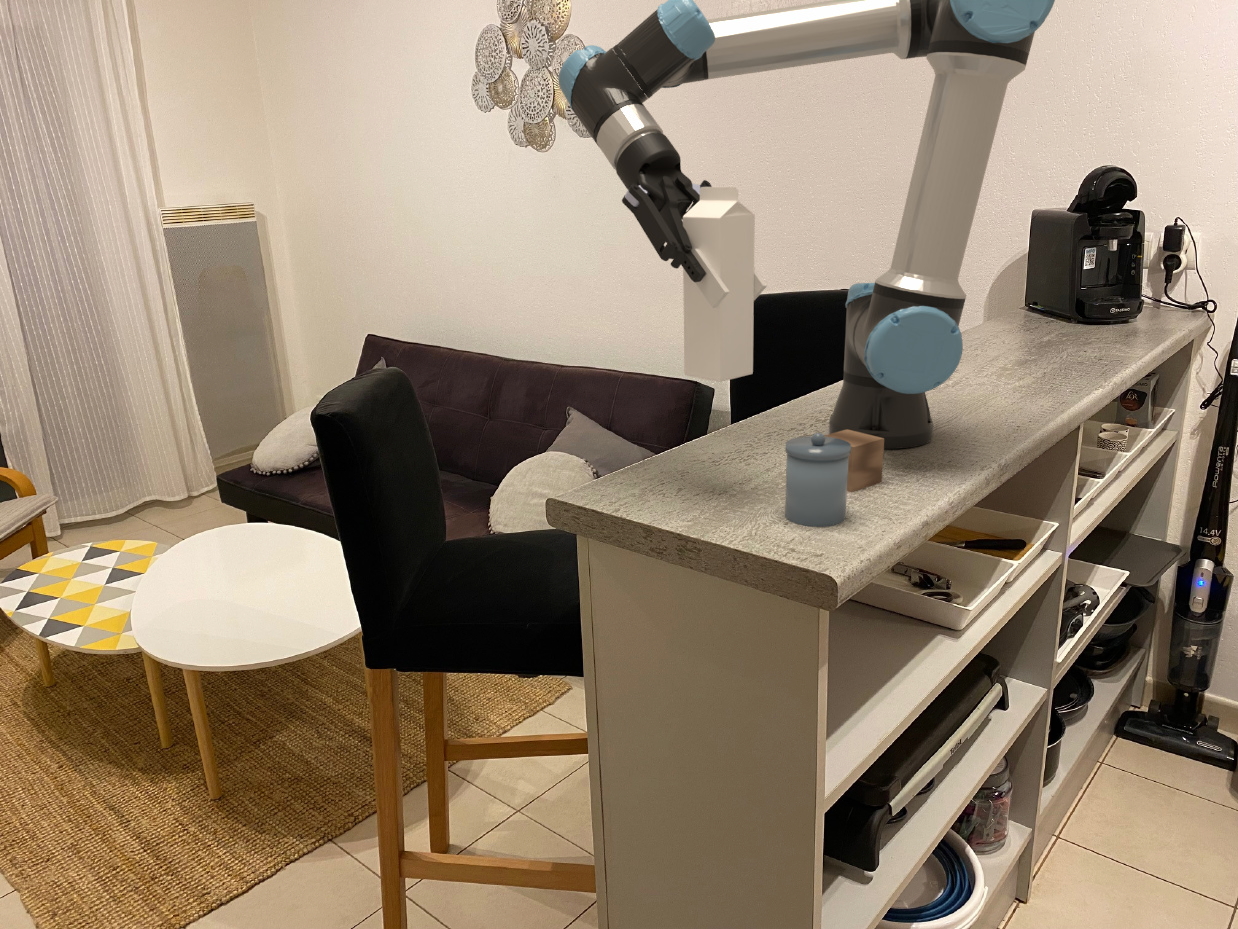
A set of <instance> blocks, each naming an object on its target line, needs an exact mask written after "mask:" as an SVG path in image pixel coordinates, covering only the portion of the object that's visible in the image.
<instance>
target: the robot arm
mask: <svg viewBox="0 0 1238 929" xmlns="http://www.w3.org/2000/svg"><path fill="white" fill-rule="evenodd" d="M1055 1H1056V0H827V1H826V0H825V1H819V2H813V3H806V4H799V5H793V6H787V7H779V8H773V9H767V10H760V11H755V12H749V13H747V12H746V13H741V14H734V15H728V16H721V17H716V18H711V19H707V18H706V16H705V15H704V13H703V12H702V11H701V9H700V7H699V6H698V4H696V2H695V1H694V0H667V1H666V2H664V3H661V4H660V5H658V7H657V9H656V10H654V11H653V12H652V13H651V14H650V15H649V16H648V17H647V18H645V19H644V20H643V21H642V22H640V24H639V25H637V26H636V27H635V28H634V29H633V30H632V31H631V32H630V33H628V34H627V35H626V36H625V37H624V38H622V39H621V40H620V41H619V42H618V43H616V44H615V45H614V46H613V47H611V48H609V49H608V50H607V51H606V50H605V49H603V48H602V46H598V45H595V44H594V45H590V44H589V45H586V46H585V47H584V48H582V49H577V50H575V51H573V52H572V53H571V54H570V55H569V56H567V58H566V59H565V61H564V62H563V63H562V66H561V68H560V70H559V74H558V86H559V88H560V91H561V92H562V94H563V96H564V97H565V99H566V101H567V102H568V105H569V106H570V107H569V108H570V109H571V110H572V111H573V113H574V114H575V116H576V117H577V119H578V120H579V122H580V123H581V124H582V126H583V127H584V128H585V130H586V132H587V133H588V134H589V136H590V137H591V138H592V140H593V142H595V144H596V145H597V146H598V148H599V149H600V150H601V152H602V153H603V155H604V156H605V158H606V159H607V162H609V164H610V165H611V167H612V169H613V170H615V172H616V174H617V176H618V178H619V179H620V181H621V182H622V184H623V185H624V186H625V188H626V190H627V191H626V192H625V194H624V196H623V197H622V199H621V202H622V204H624V206H626V208H627V209H628V210H629V211H630V212H631V213H632V214H633V215H634V217H635V219H636V221H637V222H638V223H639V225H640V227H641V230H642V231H643V232H644V234H645V235H646V237H647V239H648V240H649V242H650V243H651V245H652V247H653V248H654V250H655V251H656V253H657V255H658V256H659V258H660V259H661V260H662V261H664V262H668V261H669V260H672V261H671V262H670V266H671V267H672V268H674V269H677V270H678V269H679V268H680V266H682V269H683V268H684V270H685V271H686V272H687V274H688V275H689V277H690V279H691V280H692V281H693V282H695V283H696V284H697V286H698V287H699V289H700V290H701V292H702V293H703V295H704V296H705V297H706V299H707V300H708V302H709V303H710V305H711V306H712V308H715V307H717V306H718V305H719V304H720V303H721V302H722V300H723V299H724V298H725V297H726V295H727V294H728V293H729V292H730V291H729V290H728V289H727V287H726V286H725V284H724V283H723V281H722V280H721V279H720V277H719V276H718V274H717V273H716V272H715V270H714V269H713V267H712V266H711V264H710V263H709V261H708V260H707V259H706V257H705V256H704V254H703V253H702V251H701V250H700V249H695V250H694V251H693V253H692V251H691V250H692V245H691V242H690V240H689V237H688V234H687V232H686V230H685V228H684V227H683V216H684V215H685V214H686V213H687V212H688V211H689V210H690V209H691V208H692V207H693V206H694V205H695V204H696V203H698V202H699V201H700V188H701V187H713V186H712V184H711V183H710V181H708V180H707V179H705V180H704V179H703V180H702V181H701V183H700V184H696V183H693V181H692V180H691V179H690V178H689V177H688V176H687V175H685V173H683V171H682V168H681V156H680V153H679V152H678V150H677V149H676V148H675V146H674V144H673V143H672V142H671V141H670V139H669V138H668V136H666V134H664V132H663V131H664V130H663V129H662V128H661V126H660V125H659V124H658V122H657V121H656V120H655V118H654V117H653V115H652V114H651V113H650V111H649V110H648V109H647V107H645V105H644V103H645V102H646V101H647V100H649V99H651V98H652V97H653V95H655V93H657V92H658V91H660V89H670V88H678V87H679V86H680V85H682V84H683V85H685V84H689V83H695V82H703V81H706V80H707V81H708V80H715V79H719V78H726V77H727V78H728V77H734V76H740V75H741V76H742V75H748V74H754V73H761V72H767V71H768V72H769V71H776V70H782V69H789V68H790V69H791V68H796V67H803V66H810V65H817V64H823V63H824V64H825V63H831V62H837V61H845V60H851V59H860V58H864V57H866V58H867V57H871V56H878V55H885V54H886V55H887V54H894V55H895V56H896V57H897V58H899V59H900V60H907V59H909V60H910V59H915V58H926V60H927V62H928V63H929V65H930V67H931V68H932V70H933V72H934V75H935V76H934V79H933V84H932V88H931V92H930V93H931V94H930V96H929V101H928V106H927V109H926V115H925V118H924V123H923V126H922V127H923V128H922V131H921V136H920V139H919V144H918V148H917V152H916V157H915V160H914V166H913V170H912V175H911V179H910V182H909V187H908V191H907V196H906V198H905V199H906V200H905V205H904V208H903V213H902V217H901V221H900V222H901V223H900V226H899V230H898V234H897V238H896V242H895V248H894V251H893V255H892V260H891V264H890V268H889V269H888V270H887V271H886V272H884V273H883V274H881V275H880V276H878V277H877V278H876V279H875V282H861V283H859V282H858V283H854V284H852V285H851V286H850V287H849V288H848V292H847V297H846V298H847V299H846V302H845V309H846V315H845V316H846V317H845V337H844V356H843V357H844V358H843V359H844V360H843V379H842V387H841V389H840V392H839V395H838V397H837V399H836V403H835V405H834V409H833V412H832V414H831V415H830V418H829V421H828V422H829V428H828V434H832V433H835V432H839V431H843V430H847V429H848V430H852V431H856V432H860V433H864V434H868V435H872V436H876V437H881V438H884V450H885V449H886V450H887V449H888V450H889V449H896V450H897V449H907V448H916V447H920V446H924V445H925V444H928V443H930V442H931V441H932V440H933V435H934V434H933V433H934V422H933V419H932V417H931V411H930V407H929V403H928V399H927V395H926V392H929V391H931V390H934V389H936V388H938V387H939V386H941V385H942V384H944V383H945V382H946V381H947V380H949V379H950V378H951V376H952V375H953V374H954V372H955V371H956V369H958V366H959V364H960V362H961V359H962V356H963V350H964V348H963V344H964V342H963V335H962V332H961V330H960V327H959V326H960V322H961V318H962V314H963V309H964V307H965V302H966V299H967V294H966V293H965V290H963V287H962V286H961V285H960V282H959V276H960V272H961V269H962V265H963V261H964V258H965V254H966V249H967V245H968V242H969V237H970V233H971V230H972V226H973V222H974V217H975V213H976V210H977V206H978V202H979V198H980V193H981V191H982V186H983V182H984V178H985V176H986V175H985V174H986V170H987V166H988V162H989V159H990V154H991V150H992V148H993V144H994V139H995V136H996V131H997V128H998V123H999V120H1000V115H1001V111H1002V108H1003V103H1004V100H1005V96H1006V92H1007V90H1008V89H1007V88H1008V85H1009V83H1010V82H1011V81H1012V80H1013V79H1014V78H1017V77H1018V76H1019V75H1020V74H1021V73H1023V72H1024V71H1025V70H1026V67H1027V65H1028V64H1027V63H1028V59H1029V56H1030V52H1031V48H1032V44H1033V40H1034V37H1035V33H1036V31H1037V30H1038V29H1040V27H1041V26H1042V25H1043V24H1044V23H1045V21H1046V19H1047V17H1048V16H1049V15H1050V13H1051V11H1052V10H1053V7H1054V4H1055ZM665 243H666V245H665ZM767 287H768V284H767V282H766V281H765V280H764V278H763V277H762V276H761V274H760V273H759V271H758V270H757V268H756V267H755V266H754V301H756V299H757V298H758V297H759V296H760V295H762V292H763V291H764V290H765V289H766V288H767Z"/></svg>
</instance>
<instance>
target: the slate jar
mask: <svg viewBox="0 0 1238 929" xmlns="http://www.w3.org/2000/svg"><path fill="white" fill-rule="evenodd" d="M824 435H825V434H823V433H821V432H815V433H814V434H812V435H806V436H805V435H804V436H797V437H793V438H790V439H788V440H787V441H786V442H785V446H784V449H785V450H784V452H785V453H786V470H785V472H786V473H785V497H784V498H785V501H784V502H785V503H784V504H785V505H784V517H785V519H786V520H788V521H789V522H791V523H793V524H796V525H800V526H804V527H810V528H811V527H812V528H827V527H835V526H837V525H840V524H842V523H844V522H845V520H846V517H847V516H846V514H847V497H848V496H847V494H848V491H847V479H848V460H849V455H850V453H851V444H850V443H848V442H847V441H845V440H842V439H838V438H833V437H826V436H824Z"/></svg>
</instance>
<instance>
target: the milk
mask: <svg viewBox="0 0 1238 929" xmlns="http://www.w3.org/2000/svg"><path fill="white" fill-rule="evenodd" d="M688 210H689V209H688ZM688 210H687V211H688ZM755 217H756V216H755V213H753V212H752V211H751V210H750V209H748V207H747V206H745V205H744V204H743V203H741V202H740V201H739V189H738V187H737V186H712V187H701V188H700V201H699V202H698V203H696V204H695V205H694V206H693V207H692V208H691V209H690V210H689V211H688V212H687V213H686V214H685V215H684V216H683V220H682V222H683V227H684V228H685V230H686V232H687V234H688V237H689V240H690V242H691V245H692V250H691V251H692V253H693V251H694V250H695V249H700V250H701V251H702V253H703V254H704V256H705V257H706V259H707V260H708V261H709V263H710V264H711V266H712V267H713V269H714V270H715V272H716V273H717V274H718V276H719V277H720V279H721V280H722V281H723V283H724V284H725V286H726V287H727V289H728V290H729V291H730V292H729V293H728V294H727V295H726V297H725V298H724V299H723V300H722V302H721V303H720V304H719V305H718V306H717V307H715V308H712V306H711V305H710V303H709V302H708V300H707V299H706V297H705V296H704V295H703V293H702V292H701V290H700V289H699V287H698V286H697V284H696V283H695V282H693V281H692V280H691V279H690V277H689V275H688V274H687V272H686V271H685V270H684V268H683V267H682V271H683V273H682V276H683V277H682V278H683V279H682V280H683V283H682V284H683V352H684V354H683V355H684V356H683V358H684V360H683V361H684V363H683V364H684V365H683V366H684V375H685V376H687V377H692V378H693V377H694V378H698V379H702V380H703V379H704V380H708V381H714V382H718V383H719V382H720V383H722V382H726V381H729V380H734V379H738V378H741V377H745V376H749V375H753V372H754V316H755V315H754V303H755V300H754V267H755V227H756V226H755V223H756V222H755V221H756V220H755V219H756V218H755Z"/></svg>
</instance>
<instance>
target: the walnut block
mask: <svg viewBox="0 0 1238 929" xmlns="http://www.w3.org/2000/svg"><path fill="white" fill-rule="evenodd" d="M823 435H824V436H826V437H833V438H838V439H842V440H845V441H847V442H848V443H850V444H851V453H850V455H849V460H848V479H847V492H849V493H853V492H856V491H859V490H862V489H866V488H869V487H871V486H875V485H877V484H881V483H883V482H882V480H883V465H884V451H885V449H884V438H881V437H876V436H872V435H868V434H864V433H860V432H856V431H852V430H848V429H847V430H843V431H839V432H835V433H832V434H829V433H828V434H823Z"/></svg>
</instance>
